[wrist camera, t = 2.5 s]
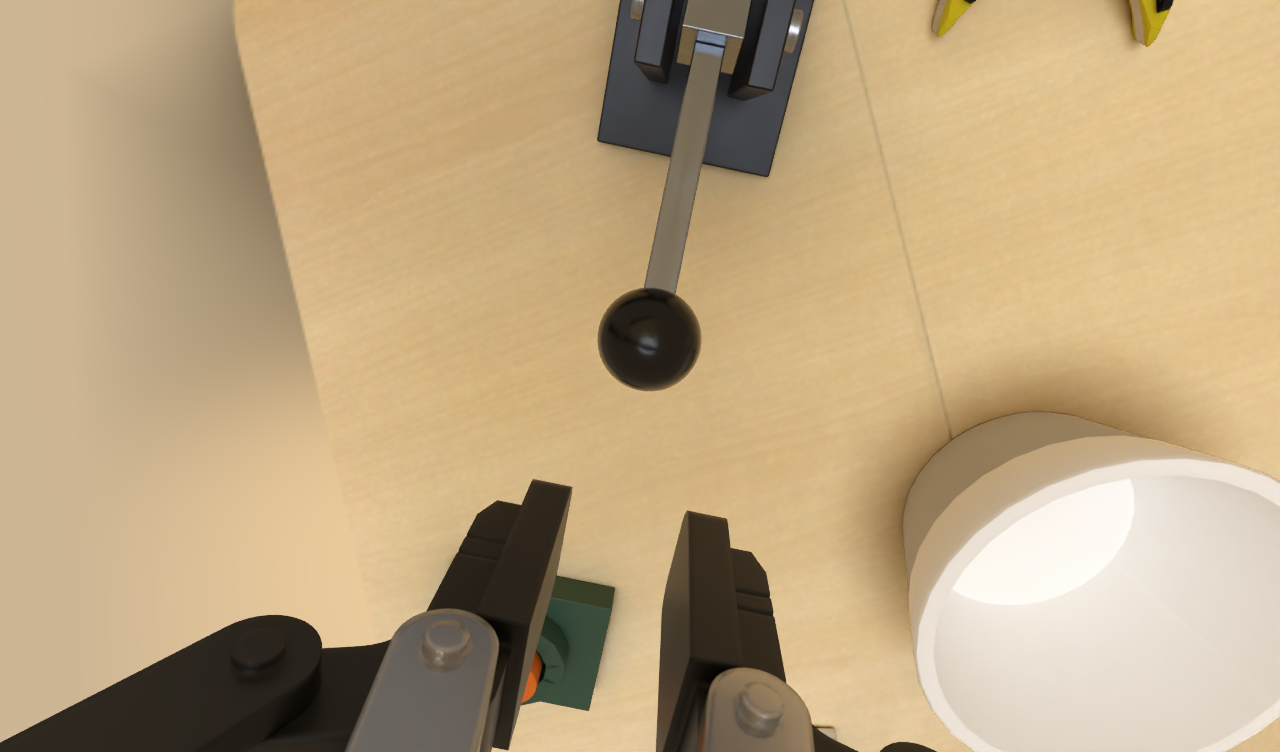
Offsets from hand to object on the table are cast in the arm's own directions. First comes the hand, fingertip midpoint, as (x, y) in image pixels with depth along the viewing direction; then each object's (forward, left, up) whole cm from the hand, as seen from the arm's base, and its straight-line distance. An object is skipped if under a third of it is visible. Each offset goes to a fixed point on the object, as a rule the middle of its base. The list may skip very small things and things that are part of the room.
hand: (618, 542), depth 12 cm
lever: (0, +5, -16) cm, 17 cm away
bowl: (+25, -11, -27) cm, 39 cm away
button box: (-4, -27, -27) cm, 39 cm away
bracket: (0, +11, -27) cm, 29 cm away
